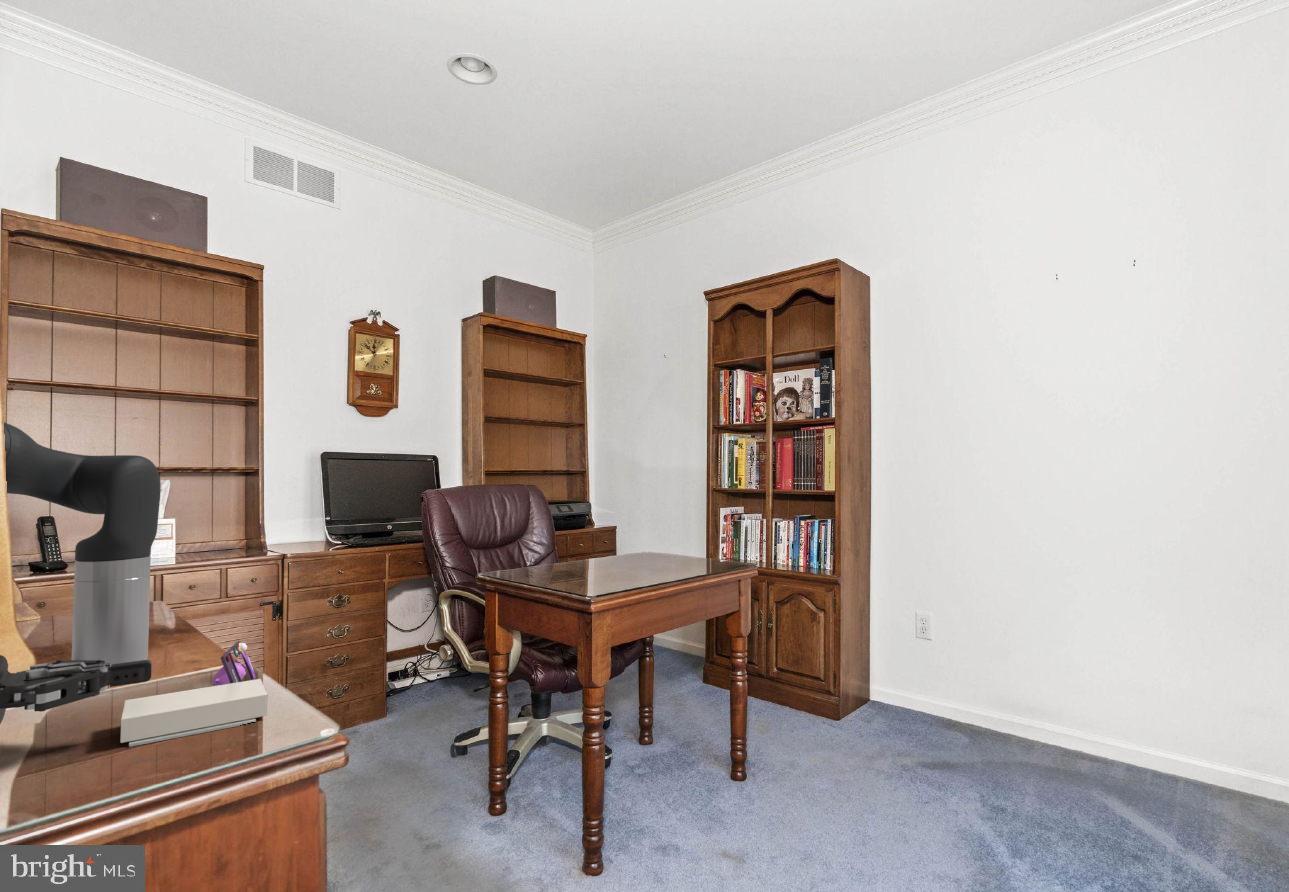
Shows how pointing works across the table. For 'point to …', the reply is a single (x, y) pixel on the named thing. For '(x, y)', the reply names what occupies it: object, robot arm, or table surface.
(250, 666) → the purple frame
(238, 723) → the mat
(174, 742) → the table surface
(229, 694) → the off-white rectangular block
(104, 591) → the robot arm
